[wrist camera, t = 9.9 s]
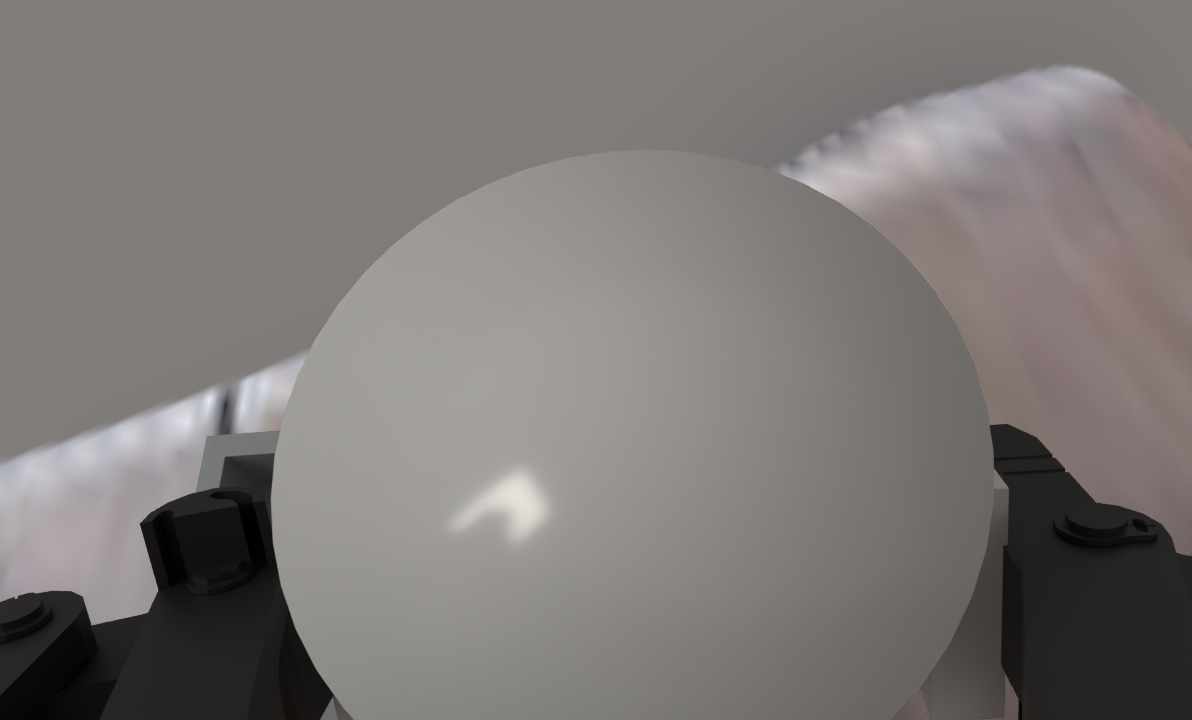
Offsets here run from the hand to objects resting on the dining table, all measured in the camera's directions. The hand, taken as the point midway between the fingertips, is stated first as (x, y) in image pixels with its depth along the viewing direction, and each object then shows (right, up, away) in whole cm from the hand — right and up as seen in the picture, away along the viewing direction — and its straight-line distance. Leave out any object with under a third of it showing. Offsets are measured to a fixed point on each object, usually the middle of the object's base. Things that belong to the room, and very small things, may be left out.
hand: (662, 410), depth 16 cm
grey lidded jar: (+1, -5, +1) cm, 5 cm away
